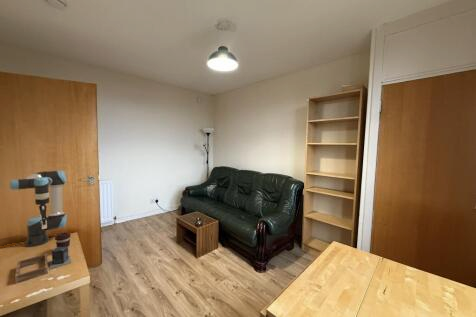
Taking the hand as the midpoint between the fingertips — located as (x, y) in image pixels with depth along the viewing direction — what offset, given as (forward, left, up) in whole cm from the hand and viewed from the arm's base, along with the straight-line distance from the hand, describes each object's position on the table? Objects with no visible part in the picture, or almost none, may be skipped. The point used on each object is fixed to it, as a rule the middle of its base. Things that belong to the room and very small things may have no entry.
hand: (43, 225), depth 154 cm
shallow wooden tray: (+8, -7, -29) cm, 31 cm away
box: (+7, +8, -29) cm, 31 cm away
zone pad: (+8, +8, -29) cm, 31 cm away
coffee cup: (-11, +11, -30) cm, 34 cm away
